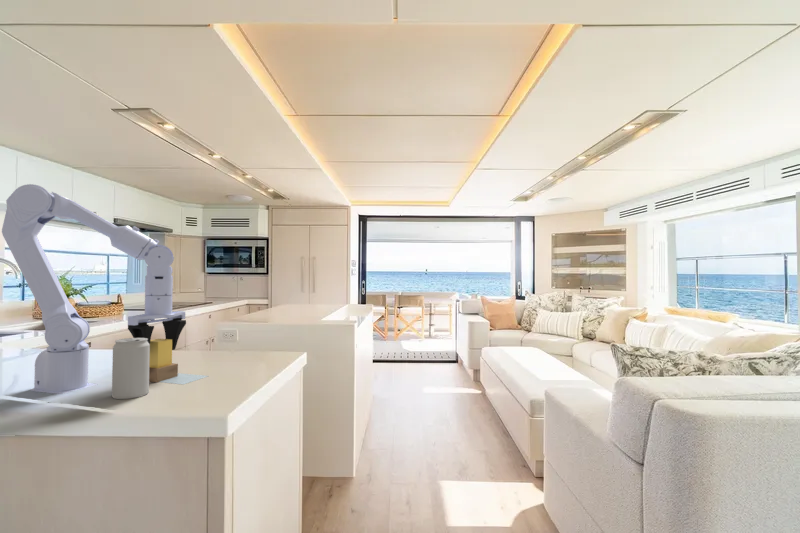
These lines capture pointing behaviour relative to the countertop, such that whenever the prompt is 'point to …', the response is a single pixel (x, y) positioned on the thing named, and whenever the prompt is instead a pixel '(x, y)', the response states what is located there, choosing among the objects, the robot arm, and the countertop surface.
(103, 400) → the countertop surface
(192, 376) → the plate
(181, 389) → the countertop surface
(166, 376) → the walnut base brick
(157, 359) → the ochre brick
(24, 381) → the countertop surface
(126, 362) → the beverage can
